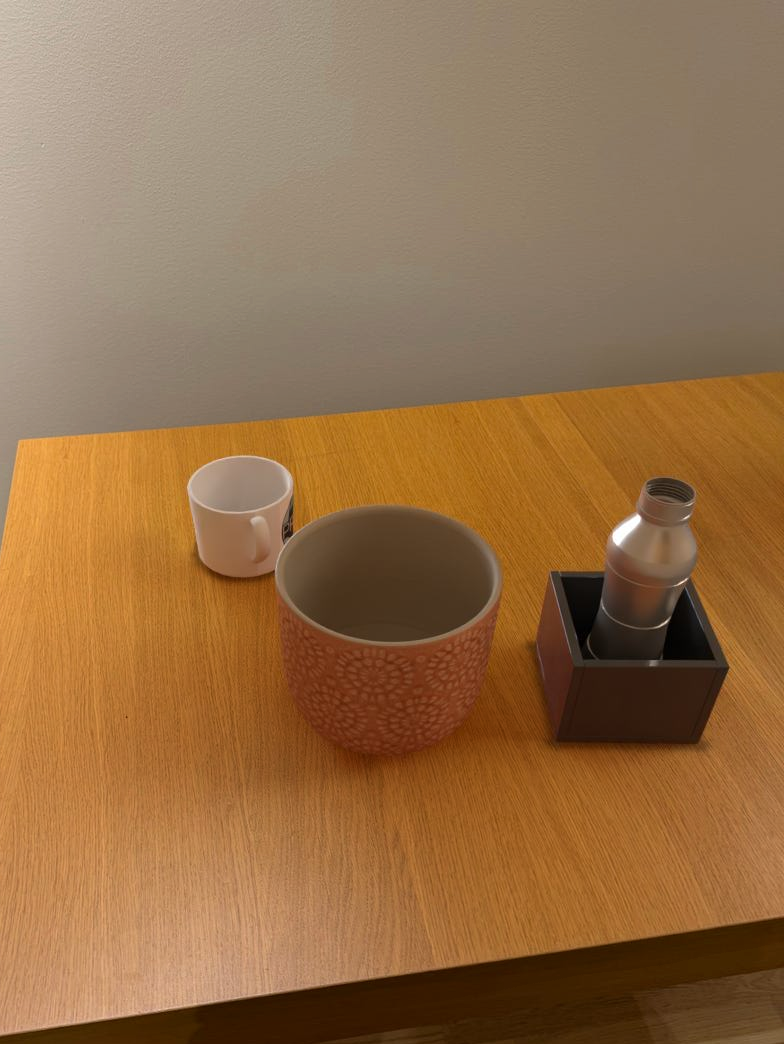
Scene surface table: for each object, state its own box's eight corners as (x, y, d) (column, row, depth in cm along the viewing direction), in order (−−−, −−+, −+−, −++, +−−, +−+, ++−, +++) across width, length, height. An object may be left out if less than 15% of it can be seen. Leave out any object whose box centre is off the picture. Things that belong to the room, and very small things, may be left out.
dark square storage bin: (663, 646, 84) (688, 570, 78) (698, 743, 75) (729, 667, 69) (534, 646, 84) (549, 570, 78) (555, 742, 76) (574, 666, 70)
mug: (185, 531, 98) (176, 466, 93) (279, 511, 101) (276, 447, 95) (216, 608, 89) (208, 541, 84) (318, 585, 91) (317, 518, 86)
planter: (443, 627, 86) (458, 490, 76) (511, 764, 74) (540, 623, 64) (266, 656, 84) (256, 520, 74) (306, 803, 72) (300, 664, 61)
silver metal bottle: (630, 727, 76) (694, 529, 62) (558, 688, 79) (604, 492, 65) (667, 684, 79) (735, 488, 65) (597, 649, 82) (647, 455, 69)
